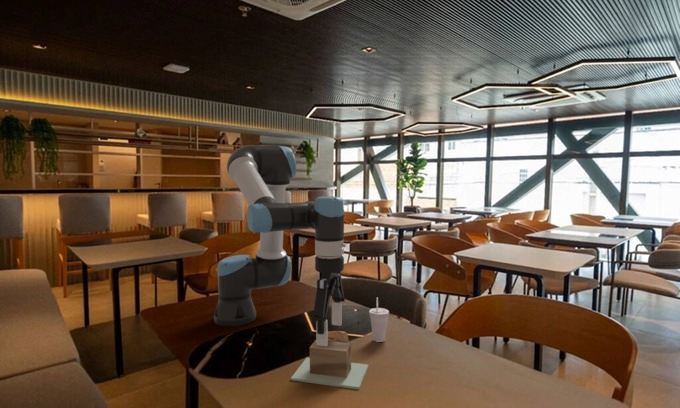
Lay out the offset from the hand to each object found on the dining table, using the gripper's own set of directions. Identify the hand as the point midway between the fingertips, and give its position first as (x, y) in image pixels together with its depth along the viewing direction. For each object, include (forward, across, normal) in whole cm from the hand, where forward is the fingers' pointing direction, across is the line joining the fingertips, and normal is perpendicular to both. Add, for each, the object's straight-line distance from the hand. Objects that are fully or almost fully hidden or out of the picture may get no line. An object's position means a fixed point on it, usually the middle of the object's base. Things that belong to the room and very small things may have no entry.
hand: (329, 334), depth 103 cm
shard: (+12, +22, +2) cm, 25 cm away
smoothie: (+11, +24, -9) cm, 28 cm away
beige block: (+10, 0, 0) cm, 10 cm away
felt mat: (+10, 0, 0) cm, 11 cm away
